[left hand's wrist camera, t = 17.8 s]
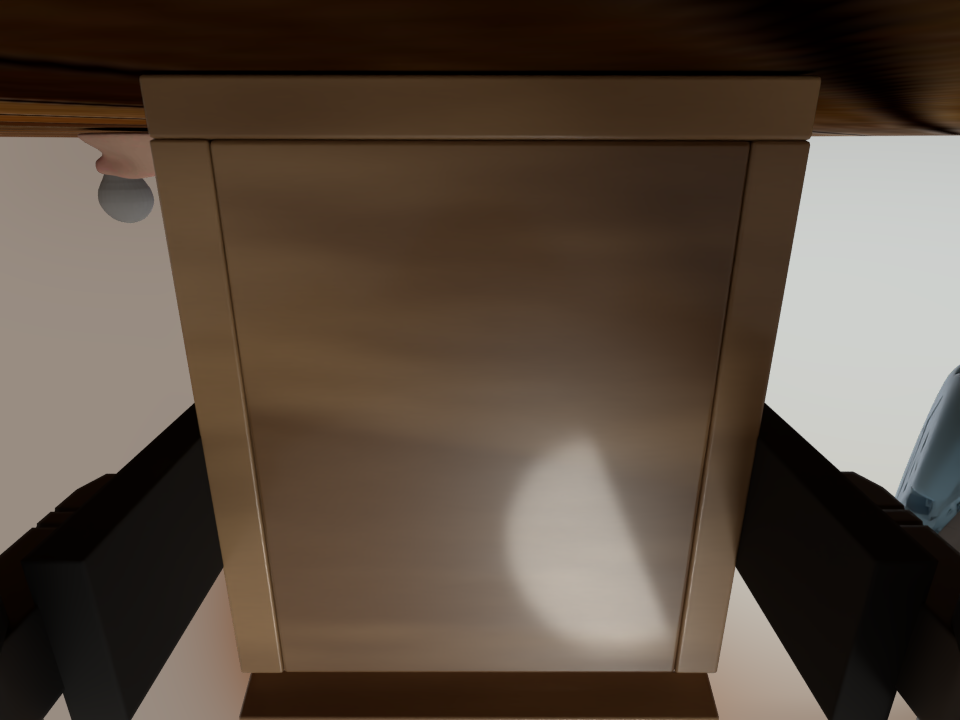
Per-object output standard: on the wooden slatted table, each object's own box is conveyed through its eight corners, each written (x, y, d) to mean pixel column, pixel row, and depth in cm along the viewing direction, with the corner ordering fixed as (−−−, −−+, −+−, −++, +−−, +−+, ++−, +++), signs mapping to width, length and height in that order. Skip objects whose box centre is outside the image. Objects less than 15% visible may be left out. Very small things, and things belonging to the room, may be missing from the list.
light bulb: (130, 138, 69) (146, 225, 72) (150, 138, 75) (165, 219, 78) (75, 138, 68) (94, 225, 72) (100, 138, 74) (116, 220, 77)
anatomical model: (74, 201, 36) (274, 196, 40) (58, 131, 34) (266, 133, 39) (107, 188, 47) (259, 184, 51) (96, 134, 46) (253, 135, 50)
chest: (602, 123, 23) (585, 382, 27) (357, 123, 23) (373, 382, 27) (824, 75, 8) (717, 674, 12) (135, 73, 8) (240, 673, 12)
